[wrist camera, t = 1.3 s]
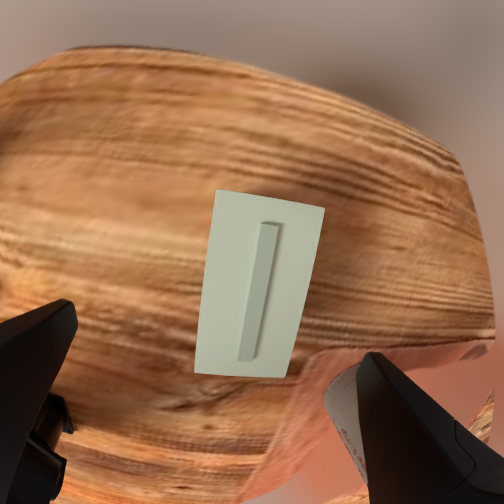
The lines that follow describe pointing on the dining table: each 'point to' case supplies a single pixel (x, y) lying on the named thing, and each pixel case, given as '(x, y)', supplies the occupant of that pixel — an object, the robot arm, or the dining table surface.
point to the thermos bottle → (346, 414)
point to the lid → (255, 283)
